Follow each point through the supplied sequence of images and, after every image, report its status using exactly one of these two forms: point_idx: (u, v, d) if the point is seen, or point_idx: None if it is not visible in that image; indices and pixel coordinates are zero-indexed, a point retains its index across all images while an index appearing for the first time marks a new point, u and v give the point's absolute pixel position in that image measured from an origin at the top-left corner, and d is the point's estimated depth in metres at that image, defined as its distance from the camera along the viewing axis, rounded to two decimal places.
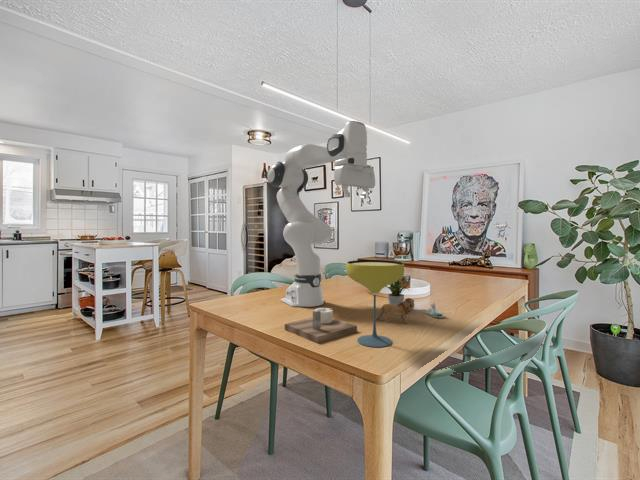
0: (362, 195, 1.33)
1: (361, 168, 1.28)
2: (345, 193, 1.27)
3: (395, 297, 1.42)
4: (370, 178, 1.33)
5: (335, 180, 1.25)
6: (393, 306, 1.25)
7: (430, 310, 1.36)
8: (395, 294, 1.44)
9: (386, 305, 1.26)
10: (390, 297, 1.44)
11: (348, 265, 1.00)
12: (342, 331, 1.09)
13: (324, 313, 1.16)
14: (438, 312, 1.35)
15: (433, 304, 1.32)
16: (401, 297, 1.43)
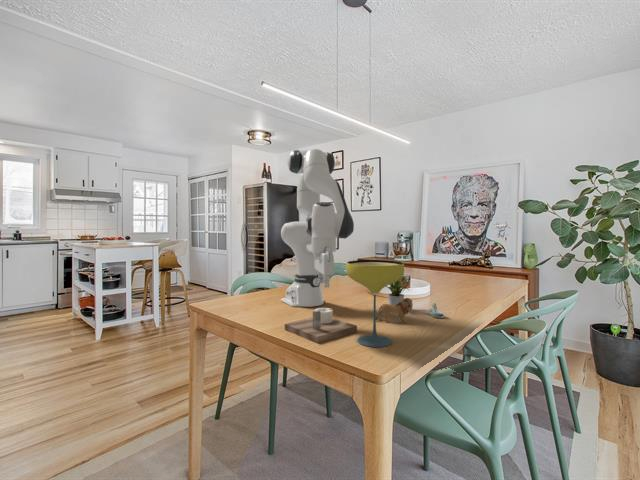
0: None
1: (315, 254, 1.18)
2: None
3: (395, 297, 1.42)
4: (322, 264, 1.12)
5: None
6: (391, 306, 1.25)
7: (431, 310, 1.36)
8: (395, 294, 1.44)
9: (384, 305, 1.26)
10: (390, 297, 1.44)
11: (348, 265, 1.00)
12: (342, 331, 1.09)
13: (324, 313, 1.16)
14: (439, 312, 1.35)
15: (434, 304, 1.32)
16: (401, 297, 1.43)
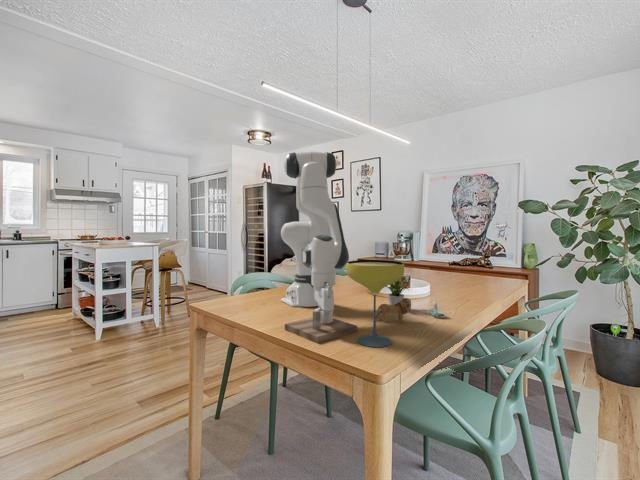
0: None
1: (315, 287, 1.19)
2: None
3: (395, 297, 1.42)
4: (322, 299, 1.12)
5: None
6: (390, 306, 1.25)
7: (432, 310, 1.36)
8: (395, 294, 1.44)
9: (383, 305, 1.26)
10: (390, 297, 1.44)
11: (348, 265, 1.00)
12: (342, 331, 1.09)
13: None
14: (440, 312, 1.35)
15: (435, 304, 1.32)
16: (401, 297, 1.43)
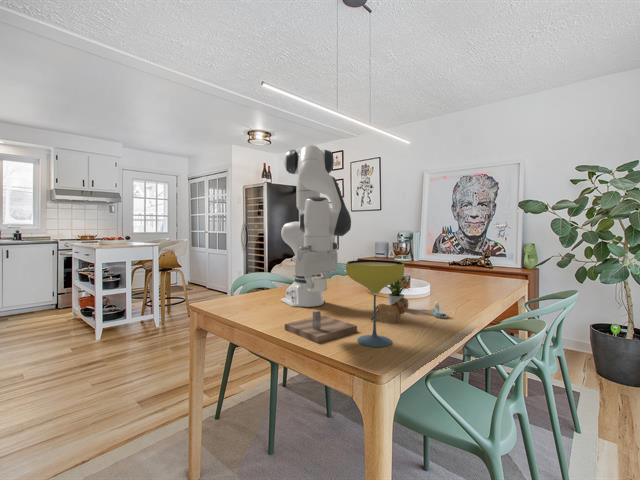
0: None
1: None
2: None
3: (395, 297, 1.42)
4: None
5: None
6: (387, 306, 1.25)
7: (434, 310, 1.36)
8: (395, 294, 1.44)
9: (380, 305, 1.26)
10: (390, 297, 1.44)
11: (348, 265, 1.00)
12: (342, 331, 1.09)
13: None
14: (442, 312, 1.35)
15: (437, 304, 1.32)
16: (401, 297, 1.43)
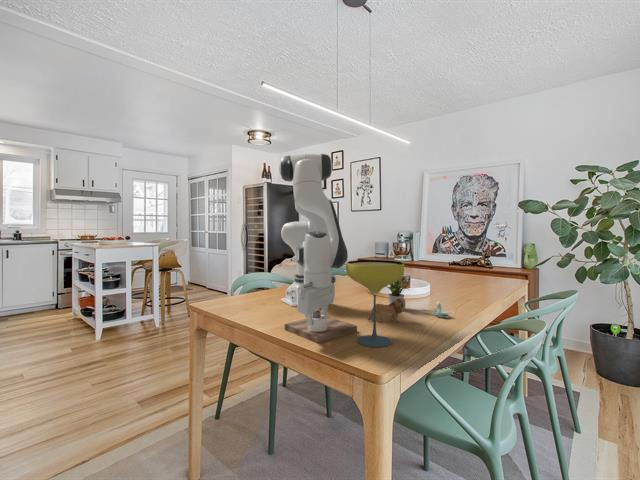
0: None
1: None
2: None
3: (395, 297, 1.42)
4: None
5: None
6: (384, 306, 1.25)
7: (436, 310, 1.36)
8: (395, 294, 1.44)
9: (377, 305, 1.26)
10: (390, 297, 1.44)
11: (348, 265, 1.00)
12: (342, 331, 1.09)
13: None
14: (444, 312, 1.35)
15: (439, 304, 1.32)
16: (401, 297, 1.43)
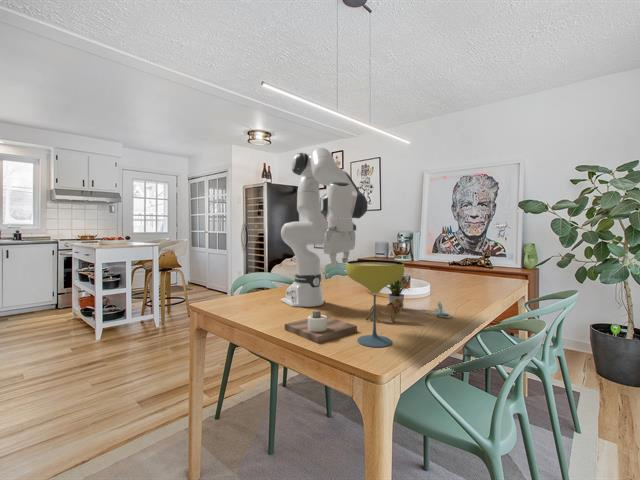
0: None
1: None
2: None
3: (395, 297, 1.42)
4: None
5: None
6: (382, 306, 1.25)
7: (437, 310, 1.36)
8: (395, 294, 1.44)
9: (376, 305, 1.26)
10: (390, 297, 1.44)
11: (348, 265, 1.00)
12: (342, 331, 1.09)
13: (311, 320, 1.07)
14: (445, 312, 1.35)
15: (440, 304, 1.32)
16: (401, 297, 1.43)
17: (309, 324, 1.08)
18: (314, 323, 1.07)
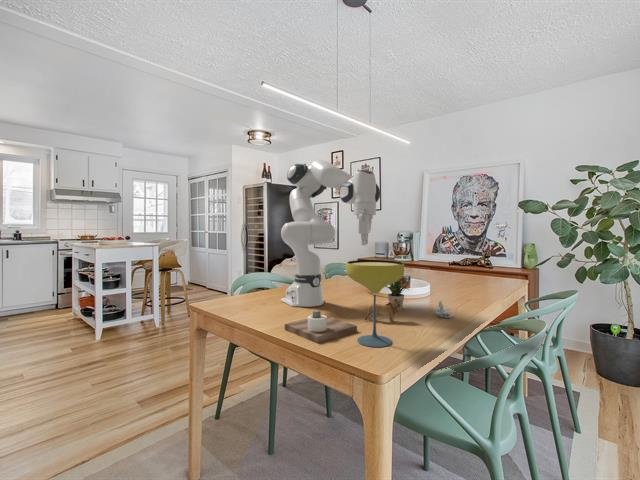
0: None
1: (357, 217, 1.33)
2: None
3: (395, 297, 1.42)
4: None
5: None
6: (381, 306, 1.25)
7: (438, 310, 1.36)
8: (395, 294, 1.44)
9: None
10: (390, 297, 1.44)
11: (348, 265, 1.00)
12: (342, 331, 1.09)
13: (311, 320, 1.07)
14: (446, 312, 1.35)
15: (441, 304, 1.32)
16: (401, 297, 1.43)
17: (309, 324, 1.08)
18: (314, 323, 1.07)
